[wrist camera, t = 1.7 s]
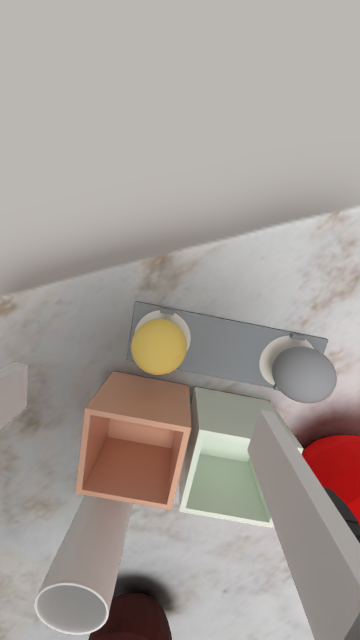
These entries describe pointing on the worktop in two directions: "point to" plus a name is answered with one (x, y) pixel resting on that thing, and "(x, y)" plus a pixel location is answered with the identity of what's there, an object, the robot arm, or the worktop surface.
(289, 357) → the ball grey
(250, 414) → the sage open box
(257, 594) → the worktop surface
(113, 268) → the worktop surface
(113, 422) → the salmon open box
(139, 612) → the potato
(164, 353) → the ball mustard
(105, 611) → the mug
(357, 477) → the vase
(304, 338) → the slate card
